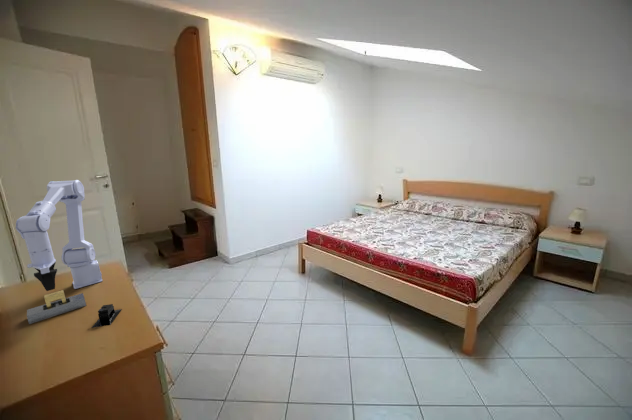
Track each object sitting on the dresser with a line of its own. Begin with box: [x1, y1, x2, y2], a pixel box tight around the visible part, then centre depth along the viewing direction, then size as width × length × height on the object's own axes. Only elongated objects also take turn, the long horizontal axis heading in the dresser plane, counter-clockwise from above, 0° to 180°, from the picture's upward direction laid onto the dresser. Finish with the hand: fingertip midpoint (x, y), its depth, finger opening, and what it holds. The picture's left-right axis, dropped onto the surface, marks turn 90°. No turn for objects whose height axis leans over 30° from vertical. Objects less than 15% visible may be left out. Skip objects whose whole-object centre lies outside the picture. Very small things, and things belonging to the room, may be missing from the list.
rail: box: [26, 292, 87, 325], centre depth 100 cm, size 15×5×3 cm, turn 134°
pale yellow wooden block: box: [43, 289, 67, 309], centre depth 99 cm, size 5×2×6 cm, turn 134°
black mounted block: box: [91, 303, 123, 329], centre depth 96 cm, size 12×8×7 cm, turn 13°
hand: (50, 285), depth 98 cm, fingers open, 7 cm apart
